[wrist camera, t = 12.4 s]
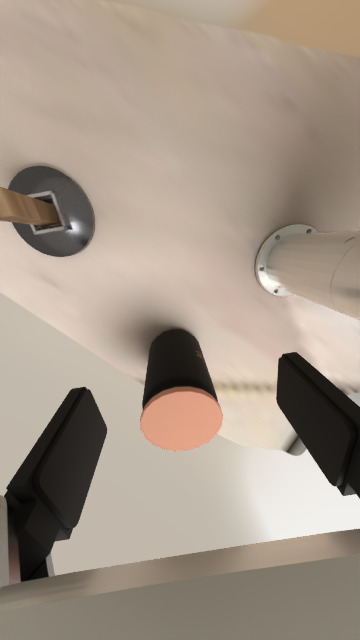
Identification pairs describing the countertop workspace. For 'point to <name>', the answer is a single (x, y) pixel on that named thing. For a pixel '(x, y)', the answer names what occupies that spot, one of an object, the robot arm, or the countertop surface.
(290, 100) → the countertop surface
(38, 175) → the round metal socket base
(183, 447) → the coffee jar
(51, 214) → the tan wooden beam
